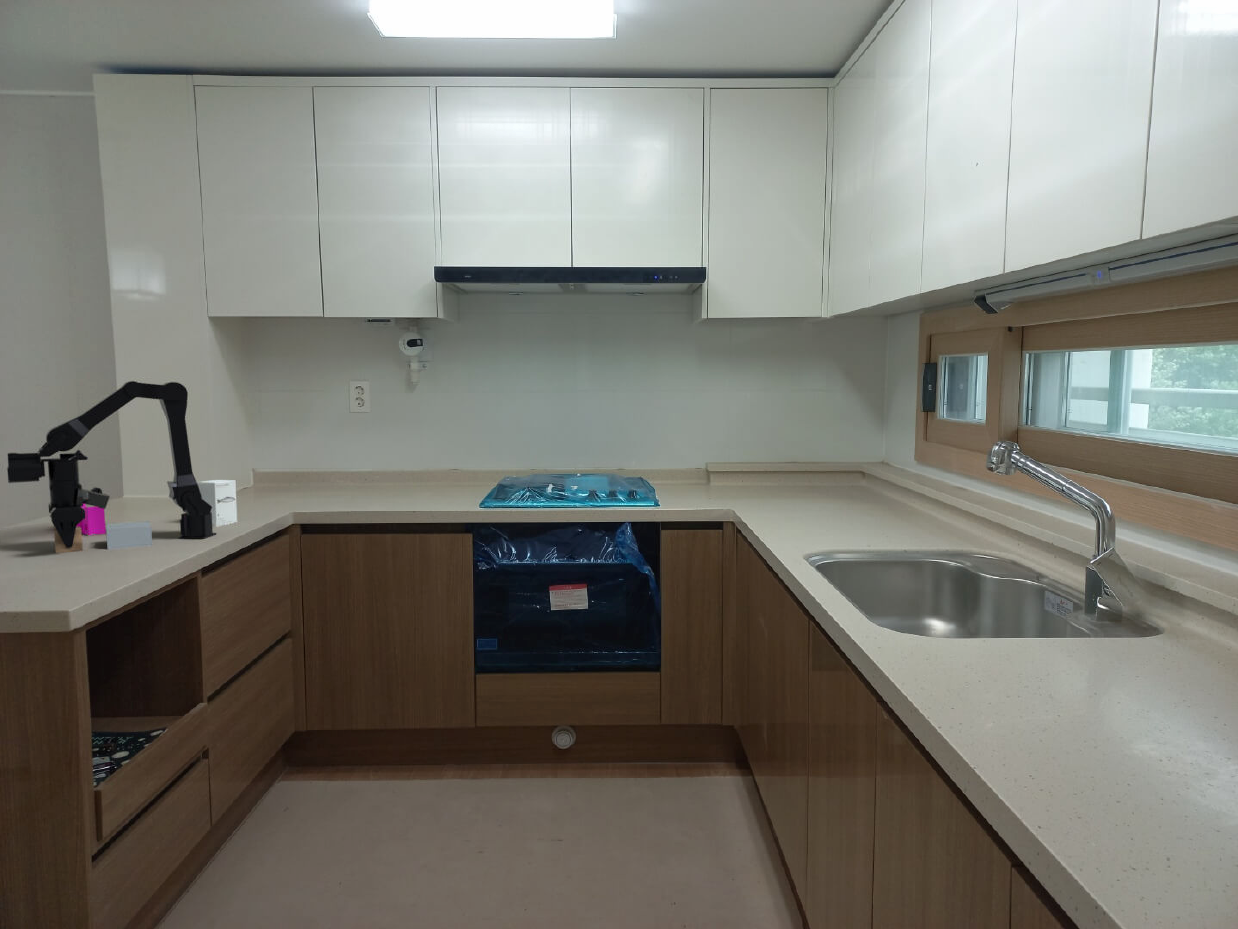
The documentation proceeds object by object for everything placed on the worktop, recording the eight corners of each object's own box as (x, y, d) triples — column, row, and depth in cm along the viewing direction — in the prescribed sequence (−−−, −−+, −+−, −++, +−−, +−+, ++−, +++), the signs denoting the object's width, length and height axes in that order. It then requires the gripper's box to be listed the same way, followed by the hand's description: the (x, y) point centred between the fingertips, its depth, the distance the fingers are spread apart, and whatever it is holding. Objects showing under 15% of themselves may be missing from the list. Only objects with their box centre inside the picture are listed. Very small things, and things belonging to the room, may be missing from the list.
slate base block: (149, 540, 192) (148, 520, 191) (152, 546, 184) (151, 525, 184) (107, 544, 186) (105, 524, 186) (107, 550, 179) (106, 529, 179)
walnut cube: (81, 547, 181) (79, 526, 181) (82, 550, 177) (81, 529, 177) (55, 549, 178) (53, 529, 178) (56, 553, 174) (54, 532, 174)
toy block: (56, 531, 203) (54, 504, 202) (82, 528, 208) (81, 501, 207) (78, 538, 194) (76, 509, 194) (105, 534, 199) (104, 506, 199)
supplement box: (216, 528, 207) (214, 482, 206) (196, 526, 210) (193, 481, 208) (238, 524, 214) (236, 480, 213) (218, 522, 216) (216, 478, 215)
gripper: (109, 481, 174) (113, 547, 176) (102, 474, 189) (105, 536, 190) (49, 484, 167) (54, 554, 169) (46, 477, 182) (50, 541, 183)
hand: (68, 545), depth 178 cm, fingers closed on walnut cube, 5 cm apart
